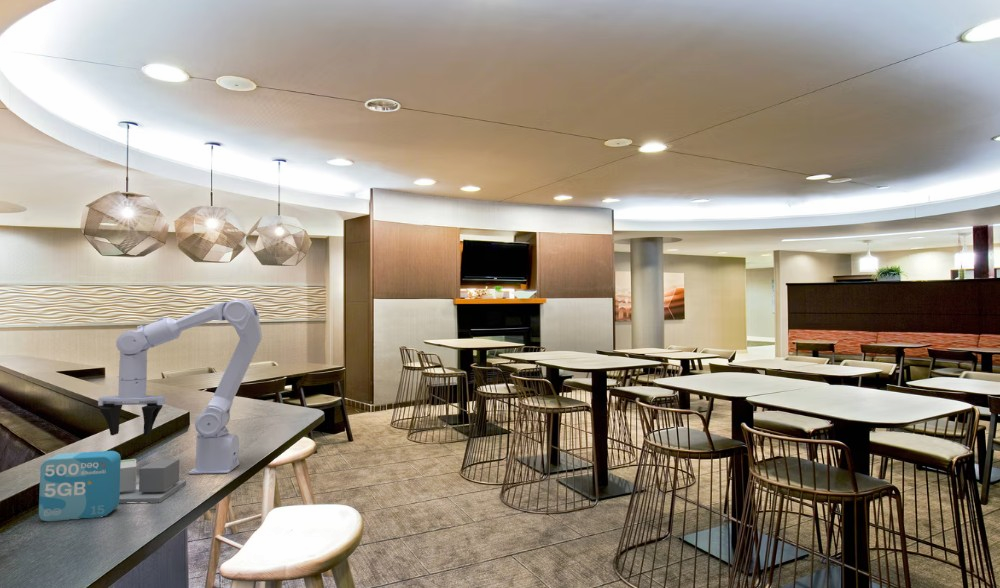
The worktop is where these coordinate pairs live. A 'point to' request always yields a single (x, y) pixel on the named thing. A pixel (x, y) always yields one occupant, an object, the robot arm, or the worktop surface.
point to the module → (128, 475)
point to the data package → (79, 485)
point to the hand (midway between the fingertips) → (131, 434)
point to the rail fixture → (155, 482)
